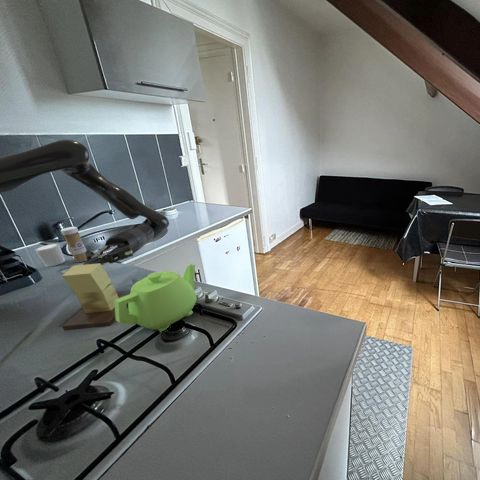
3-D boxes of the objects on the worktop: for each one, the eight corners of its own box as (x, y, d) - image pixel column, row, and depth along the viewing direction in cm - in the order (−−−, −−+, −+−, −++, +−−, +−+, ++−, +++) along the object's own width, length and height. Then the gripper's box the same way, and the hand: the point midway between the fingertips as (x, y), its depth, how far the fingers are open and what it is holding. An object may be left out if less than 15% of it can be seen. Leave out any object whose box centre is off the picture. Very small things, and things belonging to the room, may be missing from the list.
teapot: (187, 290, 77) (176, 252, 73) (218, 302, 71) (208, 261, 66) (112, 334, 61) (91, 288, 57) (143, 353, 55) (123, 304, 50)
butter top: (75, 294, 65) (61, 275, 62) (86, 283, 69) (73, 265, 66) (102, 291, 66) (89, 273, 63) (111, 281, 69) (100, 263, 66)
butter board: (63, 330, 64) (50, 305, 61) (100, 298, 76) (91, 277, 73) (110, 325, 65) (98, 301, 62) (139, 295, 77) (131, 274, 74)
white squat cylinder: (57, 259, 105) (49, 243, 102) (71, 259, 104) (64, 243, 101) (38, 267, 99) (29, 250, 96) (53, 267, 98) (44, 250, 95)
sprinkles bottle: (83, 262, 100) (68, 230, 95) (72, 263, 101) (56, 230, 95) (93, 257, 104) (79, 225, 99) (82, 257, 105) (68, 226, 100)
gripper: (101, 233, 81) (52, 257, 65) (145, 229, 81) (108, 252, 65) (110, 255, 84) (65, 283, 67) (152, 251, 84) (118, 278, 68)
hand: (86, 268), depth 66 cm, fingers closed
